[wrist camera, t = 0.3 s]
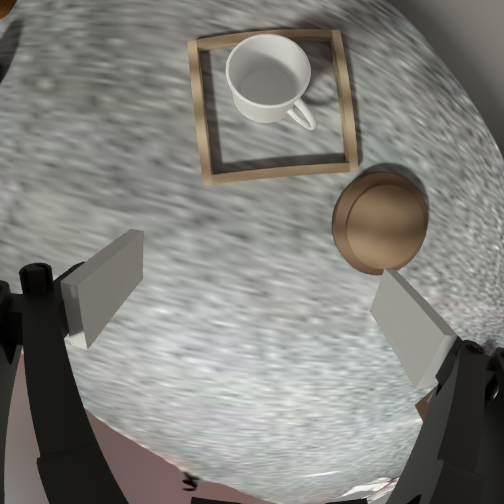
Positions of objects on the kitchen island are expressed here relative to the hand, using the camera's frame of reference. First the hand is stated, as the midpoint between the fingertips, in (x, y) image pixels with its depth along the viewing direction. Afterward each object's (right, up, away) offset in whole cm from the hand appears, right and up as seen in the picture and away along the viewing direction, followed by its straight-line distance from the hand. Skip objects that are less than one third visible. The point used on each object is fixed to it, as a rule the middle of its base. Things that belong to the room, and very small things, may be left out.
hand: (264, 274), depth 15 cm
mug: (+2, +21, +20) cm, 29 cm away
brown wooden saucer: (+18, +5, +25) cm, 31 cm away
